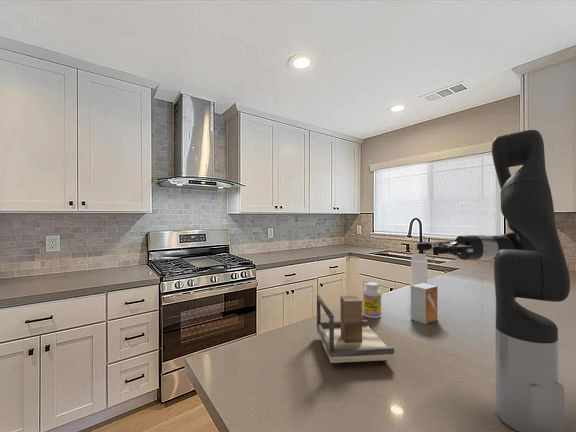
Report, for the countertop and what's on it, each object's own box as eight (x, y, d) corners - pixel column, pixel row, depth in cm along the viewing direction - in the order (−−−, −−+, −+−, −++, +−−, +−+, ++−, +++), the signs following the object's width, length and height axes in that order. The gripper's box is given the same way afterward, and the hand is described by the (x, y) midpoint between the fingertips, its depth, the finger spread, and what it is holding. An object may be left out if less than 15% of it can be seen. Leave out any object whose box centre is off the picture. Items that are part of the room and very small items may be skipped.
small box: (426, 324, 102) (425, 289, 102) (410, 319, 108) (410, 285, 108) (438, 320, 107) (437, 285, 107) (422, 315, 112) (422, 282, 112)
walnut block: (362, 342, 81) (362, 300, 81) (345, 342, 81) (345, 301, 81) (356, 334, 86) (356, 295, 86) (340, 335, 86) (340, 296, 86)
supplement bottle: (361, 317, 110) (361, 284, 110) (365, 311, 116) (365, 280, 116) (379, 320, 107) (379, 286, 107) (382, 314, 113) (382, 282, 113)
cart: (394, 367, 74) (393, 313, 74) (330, 370, 73) (329, 316, 73) (366, 334, 94) (366, 292, 94) (316, 337, 93) (315, 294, 93)
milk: (411, 299, 133) (410, 252, 133) (425, 300, 131) (424, 253, 131) (413, 303, 127) (412, 254, 127) (427, 304, 125) (427, 254, 125)
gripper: (459, 233, 94) (412, 234, 92) (494, 237, 79) (439, 237, 78) (459, 256, 94) (412, 257, 92) (494, 263, 79) (439, 264, 78)
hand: (425, 248), depth 85 cm, fingers open, 8 cm apart
